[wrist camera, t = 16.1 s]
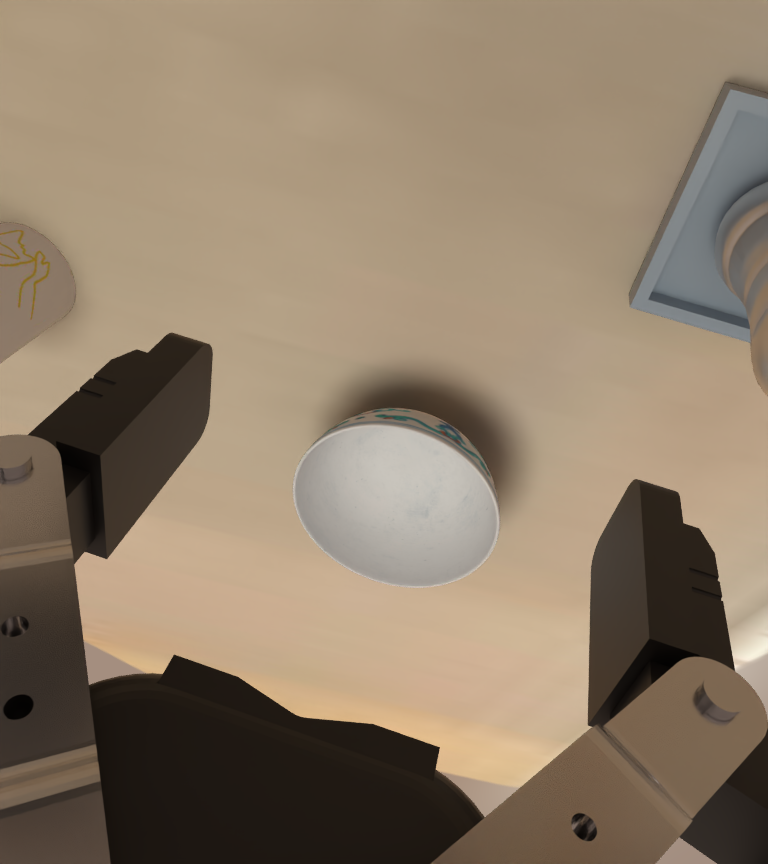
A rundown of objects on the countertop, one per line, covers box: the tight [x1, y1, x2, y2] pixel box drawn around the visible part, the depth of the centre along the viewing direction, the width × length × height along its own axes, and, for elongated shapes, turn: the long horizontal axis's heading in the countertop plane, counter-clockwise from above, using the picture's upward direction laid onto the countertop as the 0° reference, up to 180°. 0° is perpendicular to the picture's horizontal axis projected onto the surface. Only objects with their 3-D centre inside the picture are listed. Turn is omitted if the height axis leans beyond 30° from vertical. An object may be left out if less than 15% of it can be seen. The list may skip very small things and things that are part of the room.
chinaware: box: [293, 408, 500, 588], centre depth 54 cm, size 15×15×8 cm
